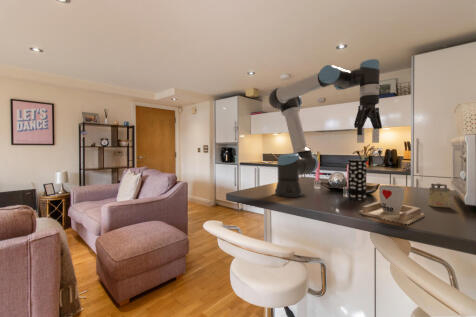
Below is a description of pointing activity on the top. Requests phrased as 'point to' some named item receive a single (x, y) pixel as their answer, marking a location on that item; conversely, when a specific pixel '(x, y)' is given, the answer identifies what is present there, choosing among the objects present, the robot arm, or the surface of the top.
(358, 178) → the spotted tube
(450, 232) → the top surface
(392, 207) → the cup
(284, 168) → the robot arm
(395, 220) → the rest
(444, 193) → the olive box with handle
